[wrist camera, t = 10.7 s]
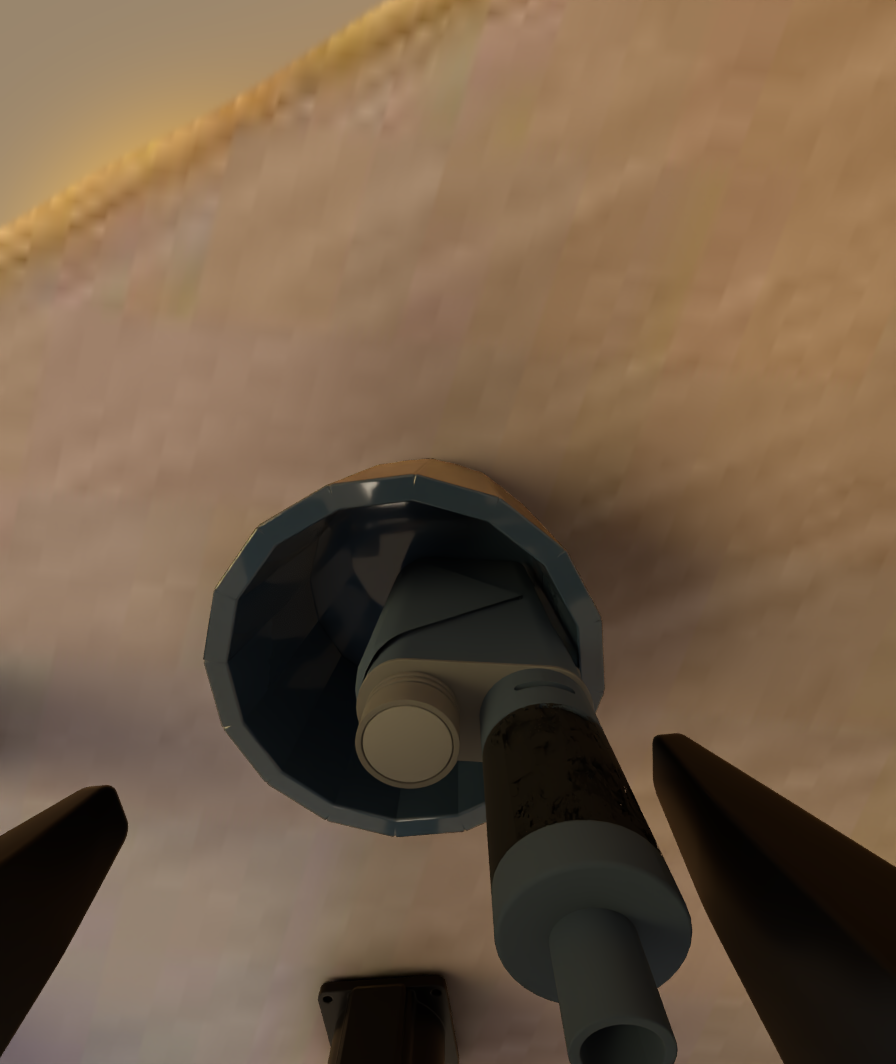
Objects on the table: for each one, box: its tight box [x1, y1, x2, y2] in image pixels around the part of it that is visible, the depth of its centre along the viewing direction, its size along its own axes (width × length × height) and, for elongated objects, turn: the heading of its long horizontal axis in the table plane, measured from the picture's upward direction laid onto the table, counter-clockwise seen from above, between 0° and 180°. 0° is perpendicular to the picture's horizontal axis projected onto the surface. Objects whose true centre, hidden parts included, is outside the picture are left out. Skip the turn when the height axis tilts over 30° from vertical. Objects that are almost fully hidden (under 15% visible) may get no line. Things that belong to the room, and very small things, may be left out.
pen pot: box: [203, 458, 605, 837], centre depth 13 cm, size 10×10×6 cm
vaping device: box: [355, 557, 692, 1064], centre depth 10 cm, size 3×5×12 cm, turn 88°
